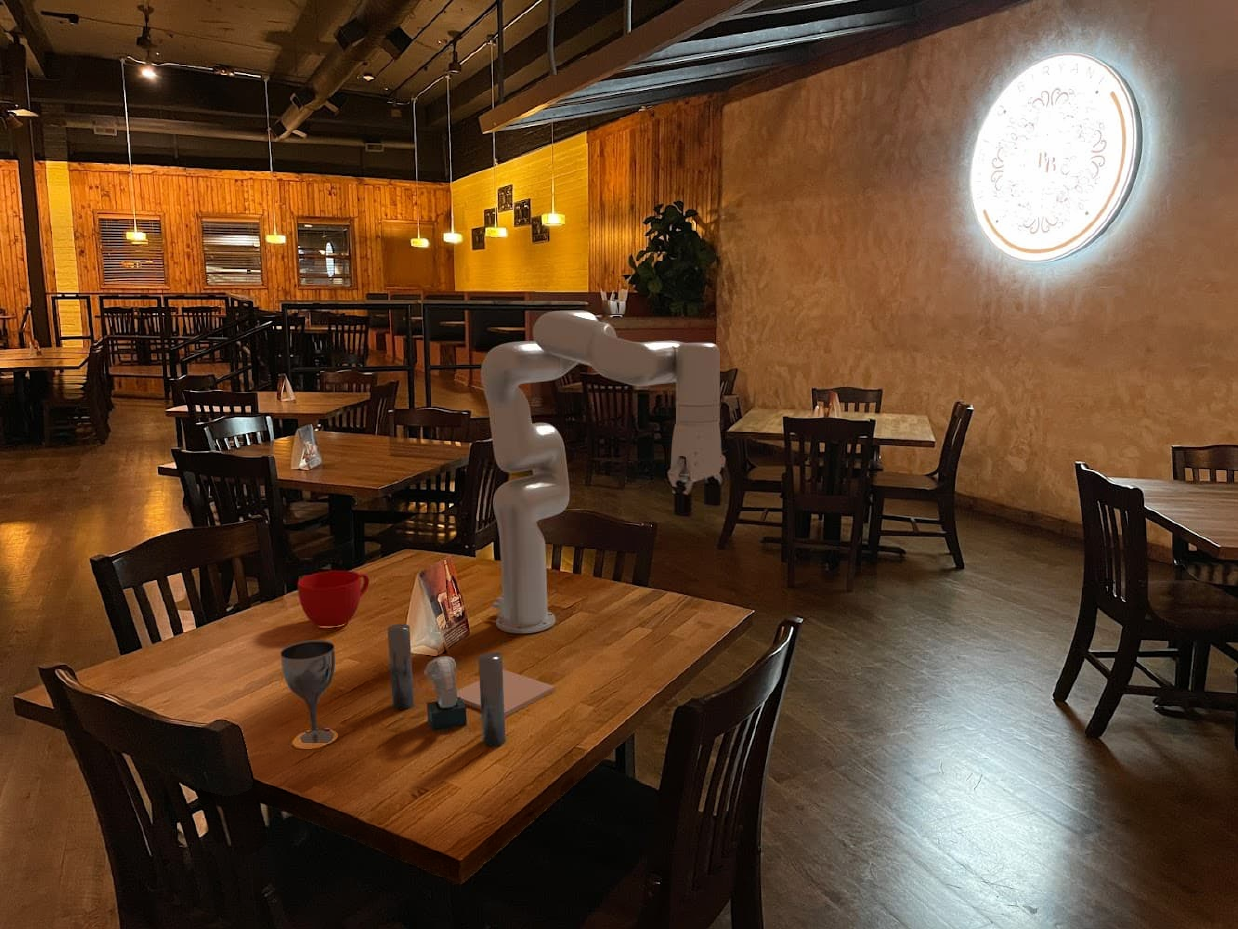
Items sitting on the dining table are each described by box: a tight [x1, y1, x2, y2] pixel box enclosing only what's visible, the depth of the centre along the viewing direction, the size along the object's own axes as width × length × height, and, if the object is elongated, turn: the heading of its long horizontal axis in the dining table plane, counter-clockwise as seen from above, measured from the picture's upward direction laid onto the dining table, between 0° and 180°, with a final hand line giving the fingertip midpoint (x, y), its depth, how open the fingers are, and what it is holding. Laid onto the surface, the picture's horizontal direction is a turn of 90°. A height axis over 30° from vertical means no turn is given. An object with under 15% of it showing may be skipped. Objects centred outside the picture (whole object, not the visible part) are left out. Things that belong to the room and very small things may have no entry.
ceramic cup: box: [297, 570, 370, 626], centre depth 194 cm, size 13×17×10 cm
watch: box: [423, 655, 468, 733], centre depth 145 cm, size 6×8×11 cm
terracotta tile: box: [457, 669, 556, 718], centre depth 156 cm, size 13×13×1 cm
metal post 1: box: [387, 623, 415, 711], centre depth 151 cm, size 4×4×14 cm
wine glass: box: [280, 639, 336, 744], centre depth 140 cm, size 8×8×15 cm
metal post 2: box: [478, 652, 507, 748], centre depth 138 cm, size 4×4×14 cm
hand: (698, 510), depth 157 cm, fingers open, 9 cm apart
